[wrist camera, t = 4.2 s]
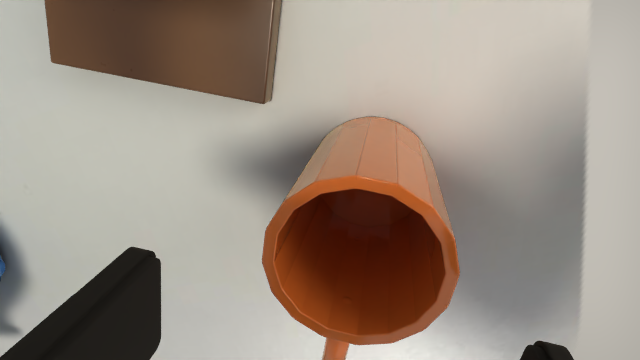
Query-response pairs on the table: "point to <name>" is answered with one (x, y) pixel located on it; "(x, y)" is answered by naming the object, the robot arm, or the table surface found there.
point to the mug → (363, 239)
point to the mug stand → (171, 42)
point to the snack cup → (1, 267)
